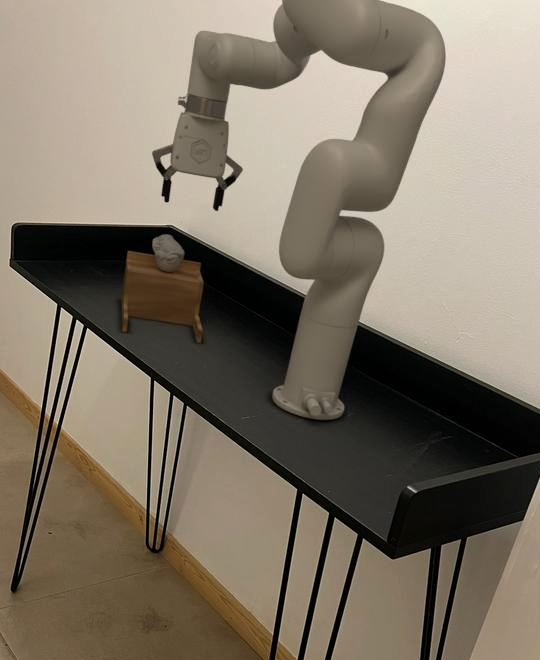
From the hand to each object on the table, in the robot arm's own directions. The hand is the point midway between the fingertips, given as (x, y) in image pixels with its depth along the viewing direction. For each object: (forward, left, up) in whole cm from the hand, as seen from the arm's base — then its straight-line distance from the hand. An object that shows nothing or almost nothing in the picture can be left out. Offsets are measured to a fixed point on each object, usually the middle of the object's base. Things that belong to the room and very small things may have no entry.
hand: (190, 205), depth 162 cm
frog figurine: (+2, +3, -14) cm, 14 cm away
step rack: (-3, +3, -23) cm, 23 cm away
